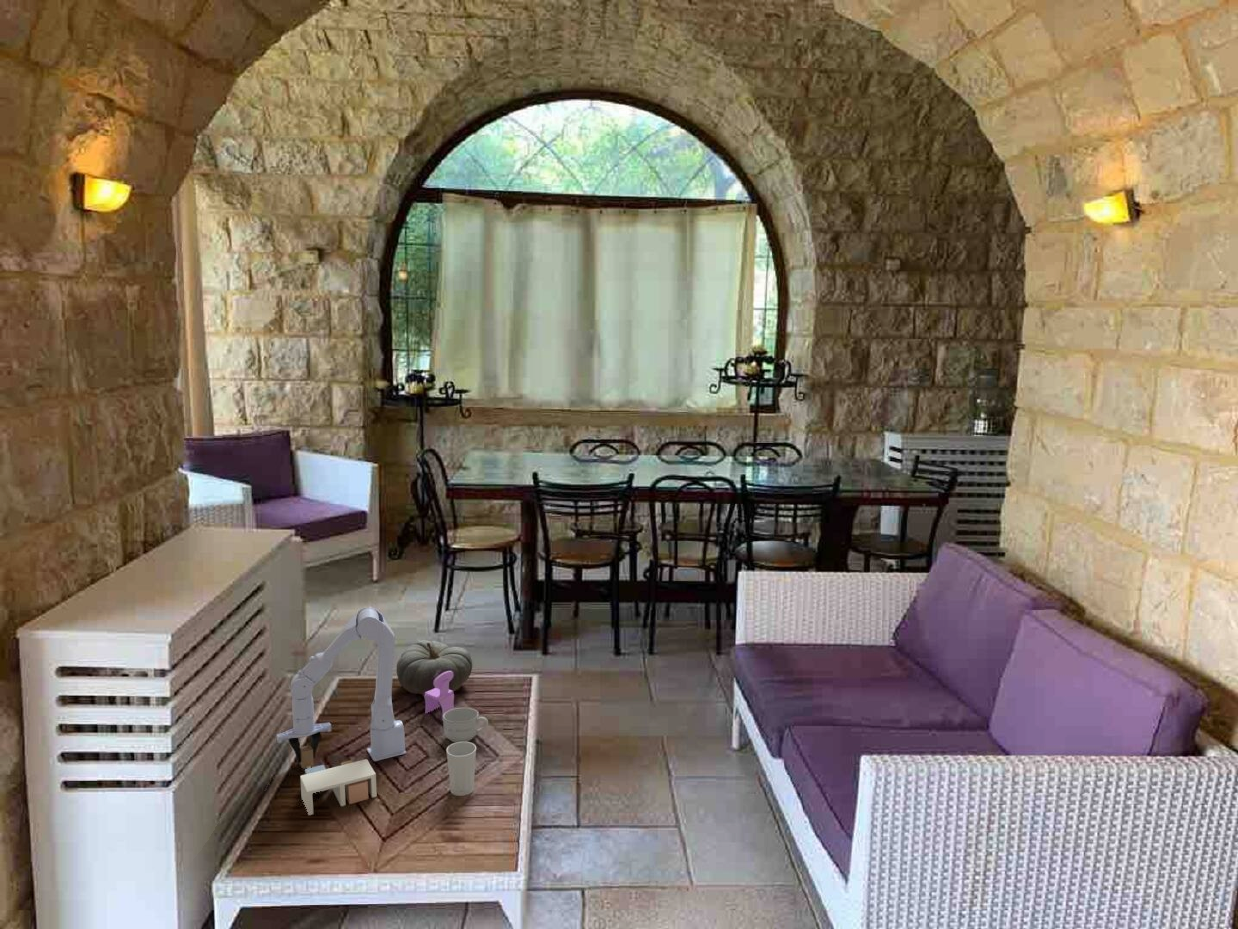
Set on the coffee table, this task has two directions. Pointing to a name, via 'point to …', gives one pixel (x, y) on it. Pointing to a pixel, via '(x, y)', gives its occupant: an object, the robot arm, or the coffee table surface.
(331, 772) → the shelf
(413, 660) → the gourd
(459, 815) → the coffee table surface
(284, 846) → the coffee table surface
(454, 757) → the cup
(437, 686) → the toy chair
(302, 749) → the tan and blue dumbbell
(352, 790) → the tan block
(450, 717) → the teacup
